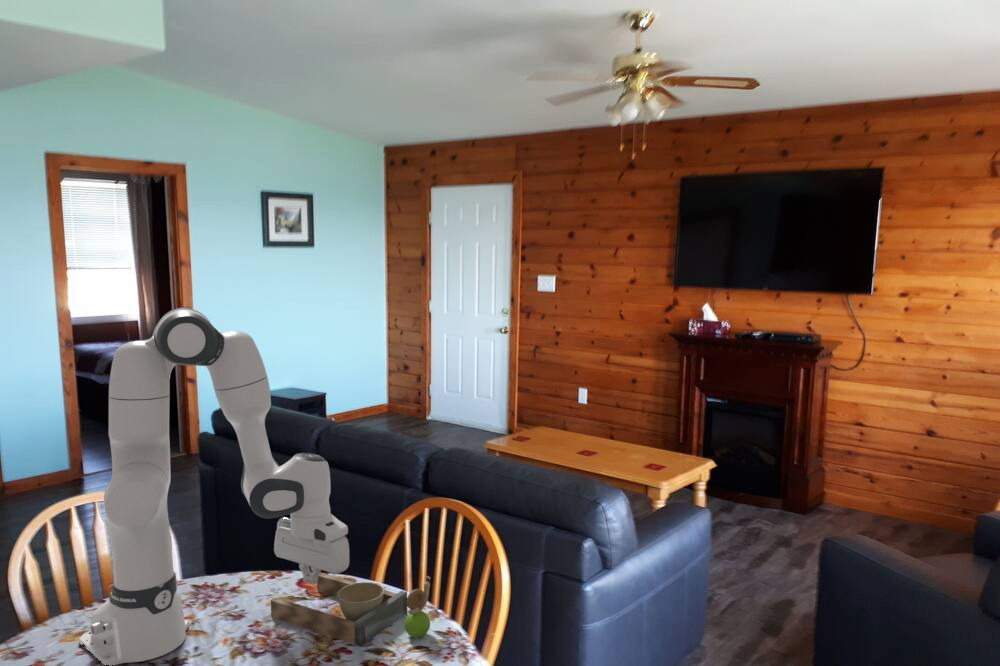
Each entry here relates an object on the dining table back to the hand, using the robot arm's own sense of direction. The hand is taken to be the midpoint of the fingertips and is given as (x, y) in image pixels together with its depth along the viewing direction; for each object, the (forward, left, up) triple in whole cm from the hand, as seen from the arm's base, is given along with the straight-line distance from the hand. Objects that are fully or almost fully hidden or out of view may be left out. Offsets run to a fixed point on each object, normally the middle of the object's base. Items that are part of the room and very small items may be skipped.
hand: (310, 582), depth 162 cm
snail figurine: (+29, +2, -7) cm, 30 cm away
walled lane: (+8, +1, -6) cm, 10 cm away
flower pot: (+15, +1, -7) cm, 16 cm away
